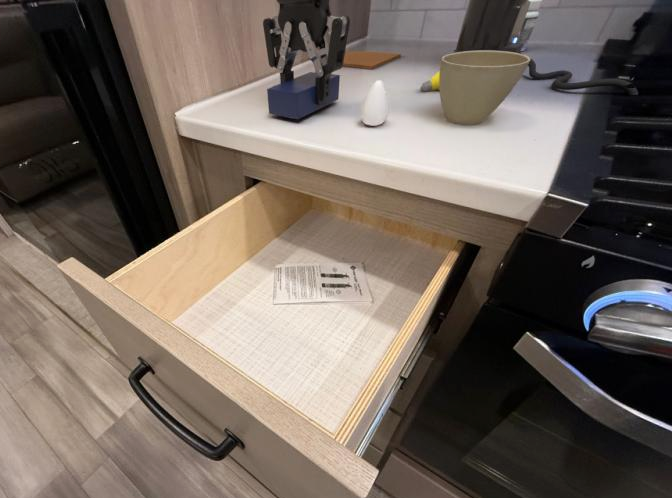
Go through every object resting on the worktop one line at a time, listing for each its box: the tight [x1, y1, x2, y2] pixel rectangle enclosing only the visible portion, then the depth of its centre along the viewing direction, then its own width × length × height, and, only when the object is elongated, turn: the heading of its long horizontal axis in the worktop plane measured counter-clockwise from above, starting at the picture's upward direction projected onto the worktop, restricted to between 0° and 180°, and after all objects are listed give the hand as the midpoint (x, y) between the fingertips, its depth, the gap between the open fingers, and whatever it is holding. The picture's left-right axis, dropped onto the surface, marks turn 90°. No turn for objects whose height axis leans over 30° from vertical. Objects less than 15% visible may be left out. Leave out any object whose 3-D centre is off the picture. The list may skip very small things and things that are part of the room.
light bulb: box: [420, 69, 440, 93], centre depth 55 cm, size 3×6×4 cm, turn 95°
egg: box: [360, 79, 390, 127], centre depth 45 cm, size 4×4×6 cm
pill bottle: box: [516, 0, 543, 53], centre depth 69 cm, size 5×5×8 cm
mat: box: [342, 50, 402, 70], centre depth 76 cm, size 14×13×1 cm
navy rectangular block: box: [266, 71, 341, 120], centre depth 52 cm, size 11×6×4 cm, turn 138°
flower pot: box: [439, 50, 531, 126], centre depth 43 cm, size 10×10×7 cm
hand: (304, 100), depth 52 cm, fingers closed on navy rectangular block, 6 cm apart
